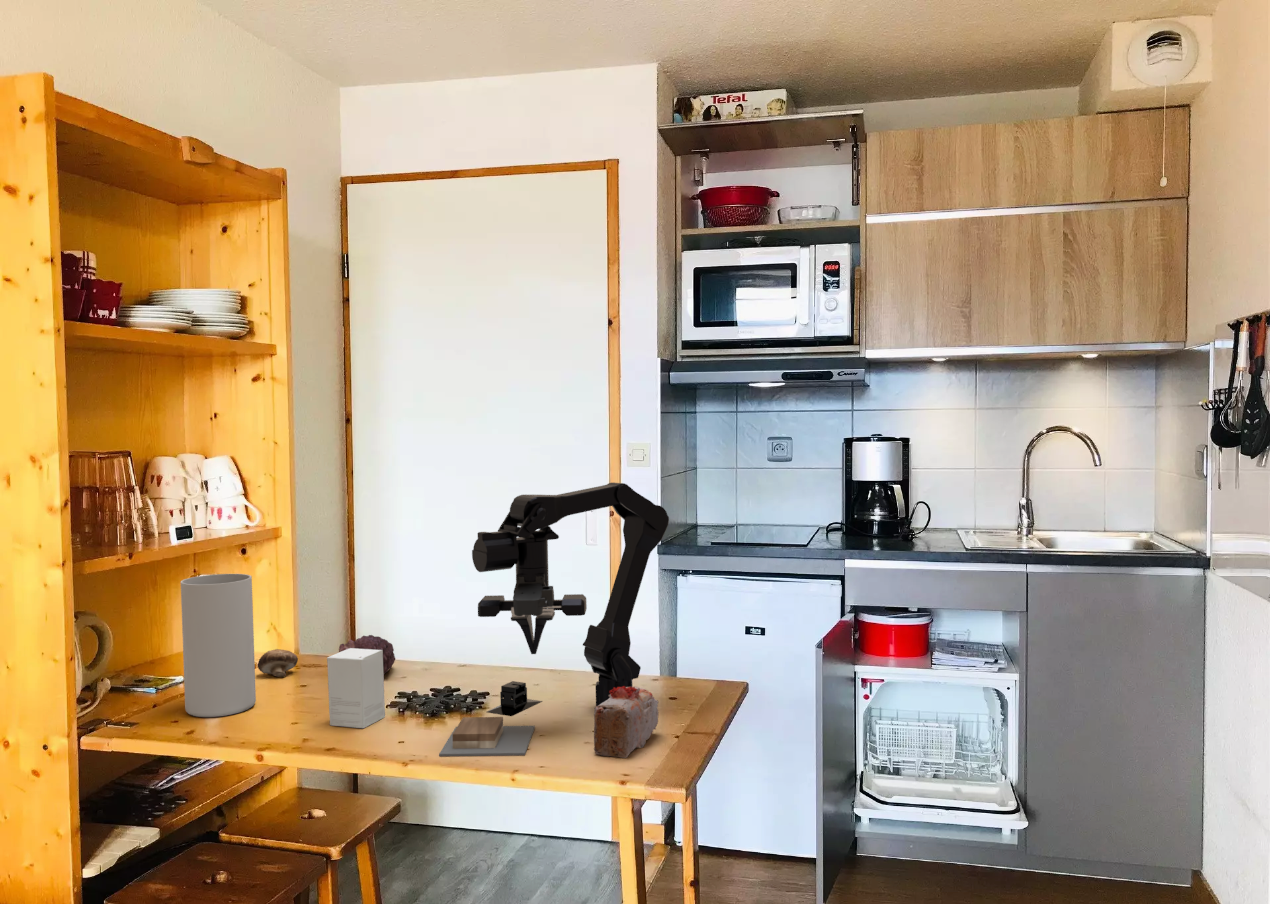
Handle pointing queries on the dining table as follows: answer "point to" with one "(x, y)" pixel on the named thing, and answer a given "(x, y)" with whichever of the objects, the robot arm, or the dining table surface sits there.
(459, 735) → the tile
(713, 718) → the dining table surface
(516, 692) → the black angular block
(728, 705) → the dining table surface
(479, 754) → the mat
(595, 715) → the food item
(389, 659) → the pine cone
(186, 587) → the cylinder vase
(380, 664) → the supplement box
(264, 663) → the mushroom
